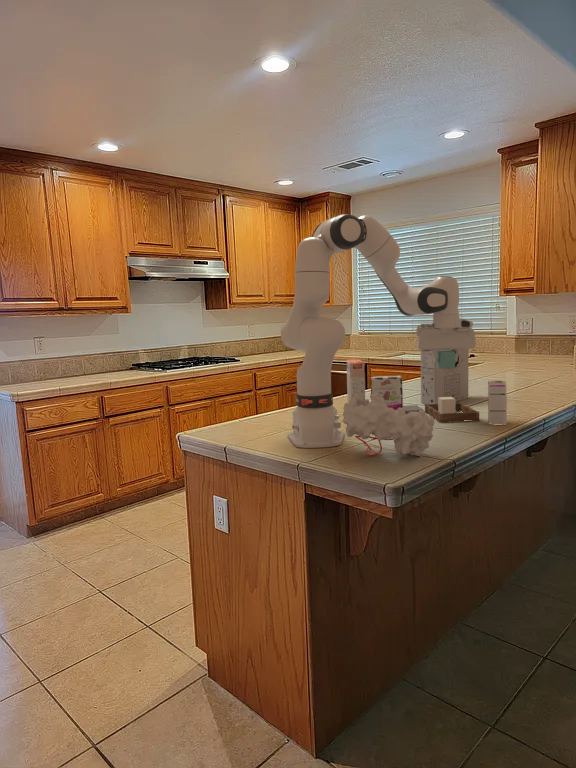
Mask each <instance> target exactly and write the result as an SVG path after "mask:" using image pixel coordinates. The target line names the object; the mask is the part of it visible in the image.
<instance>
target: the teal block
mask: <svg viewBox="0 0 576 768" xmlns="http://www.w3.org/2000/svg"><path fill="white" fill-rule="evenodd" d="M437 357H439V362H437V368H440V369H451V368H455V351H451V350H447V351H437Z"/></svg>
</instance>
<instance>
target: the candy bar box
mask: <svg viewBox="0 0 576 768" xmlns="http://www.w3.org/2000/svg"><path fill="white" fill-rule="evenodd" d="M374 393H376V394H377V395H378V397H383V398H384V403H385V405H386V406H387V407H389V406H392V405H394V406H393V407H392V408H393V409H394V410H397V409H398V408H403V406H404V398H403V397H404V396H403V376H402V375H378V376H377V375H375V376H374V375H373V376H371V377H370V395H371V394H374ZM371 401H372V398H370V402H371ZM390 408H391V407H390Z"/></svg>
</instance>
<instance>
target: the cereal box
mask: <svg viewBox="0 0 576 768" xmlns="http://www.w3.org/2000/svg"><path fill="white" fill-rule="evenodd" d="M447 350H451V351H455V349H438V350H436V353H435V354H436V356H437V351H447ZM455 354H456V352H455ZM438 397H453V398H454V399H455V402H458V401H457V400H460V401H463V400H462V399H464V400H467V398H468V399H469V348H466V349H461V352H460V354H459V356H458V361H457V362H455V368H451V369H440V368H437V362H434V357H433V355H432V353H431V350H420V403H421V404H422V403H423V405H425V404H438Z"/></svg>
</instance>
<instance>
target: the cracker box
mask: <svg viewBox="0 0 576 768" xmlns="http://www.w3.org/2000/svg"><path fill="white" fill-rule="evenodd" d="M365 370H366V363H365V362H364V361H363V360H362V359H359V358H358V359H357V358H355V359H346V387H347V388H346V389H347V391H346V392H347V397H346V398H347V403H348V404H350V403H351V399H352V397H354V395H355V394H358V396H359V397H361V398H363V399H364V400H366V371H365Z"/></svg>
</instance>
